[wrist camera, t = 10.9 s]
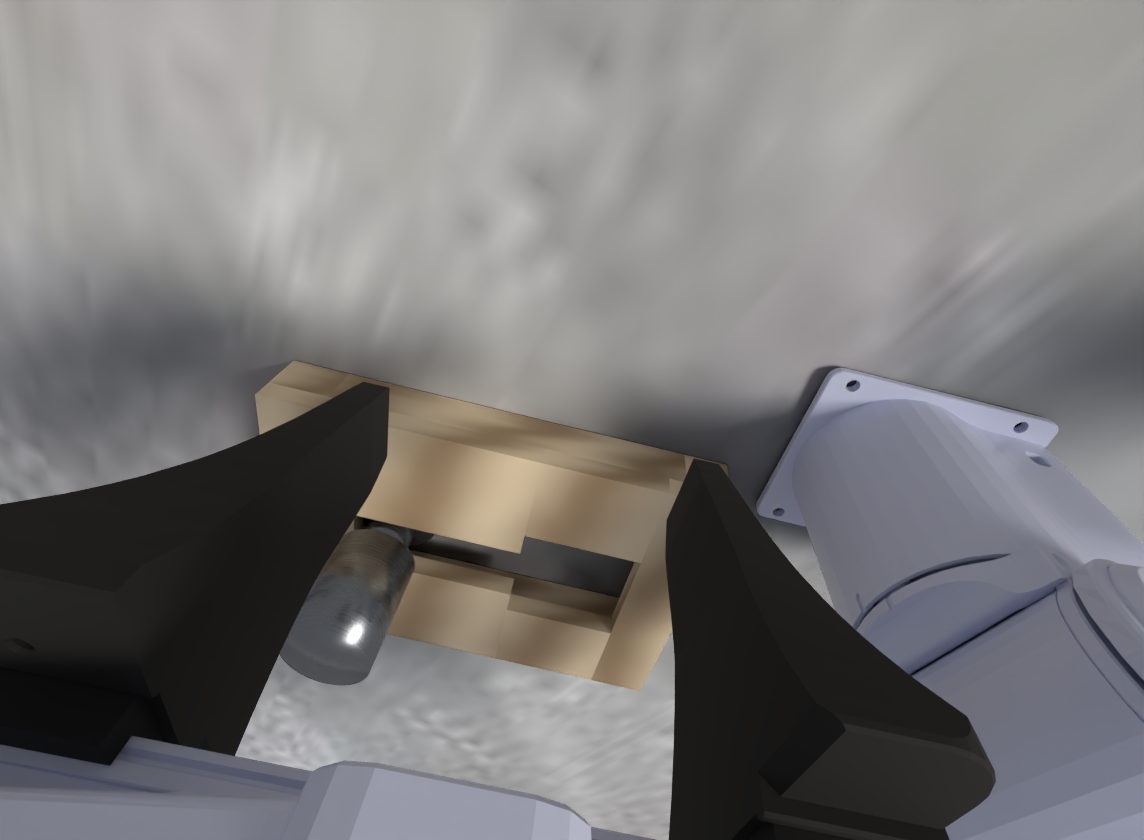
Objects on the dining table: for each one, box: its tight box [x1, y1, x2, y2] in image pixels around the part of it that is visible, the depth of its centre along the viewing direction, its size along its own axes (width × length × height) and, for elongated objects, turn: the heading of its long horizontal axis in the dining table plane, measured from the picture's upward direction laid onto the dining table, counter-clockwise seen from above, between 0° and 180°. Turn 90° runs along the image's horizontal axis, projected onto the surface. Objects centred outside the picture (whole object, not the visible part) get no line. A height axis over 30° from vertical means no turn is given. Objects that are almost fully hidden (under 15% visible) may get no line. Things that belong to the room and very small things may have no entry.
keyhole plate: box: [255, 361, 730, 691], centre depth 28 cm, size 20×14×3 cm
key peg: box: [280, 517, 434, 685], centre depth 25 cm, size 4×4×9 cm
